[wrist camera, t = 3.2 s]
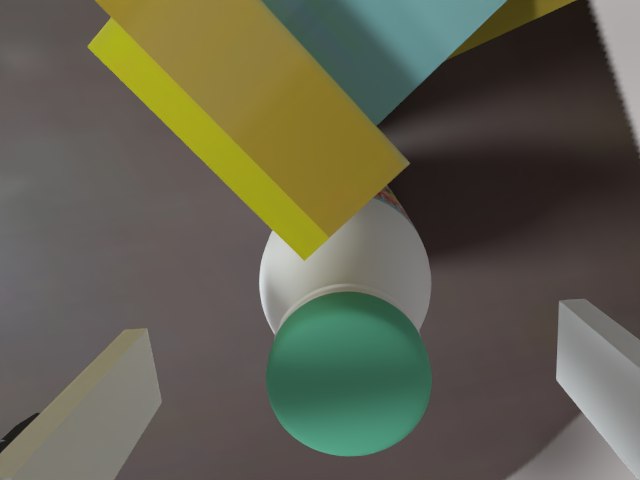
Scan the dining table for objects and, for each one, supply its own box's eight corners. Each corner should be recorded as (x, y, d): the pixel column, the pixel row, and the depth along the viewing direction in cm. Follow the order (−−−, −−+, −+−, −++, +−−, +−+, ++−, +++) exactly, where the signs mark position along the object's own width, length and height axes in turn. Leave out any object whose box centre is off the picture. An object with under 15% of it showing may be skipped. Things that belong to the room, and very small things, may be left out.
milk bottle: (377, 289, 33) (431, 539, 14) (271, 256, 33) (176, 464, 14) (416, 185, 31) (544, 306, 12) (304, 148, 31) (248, 213, 12)
